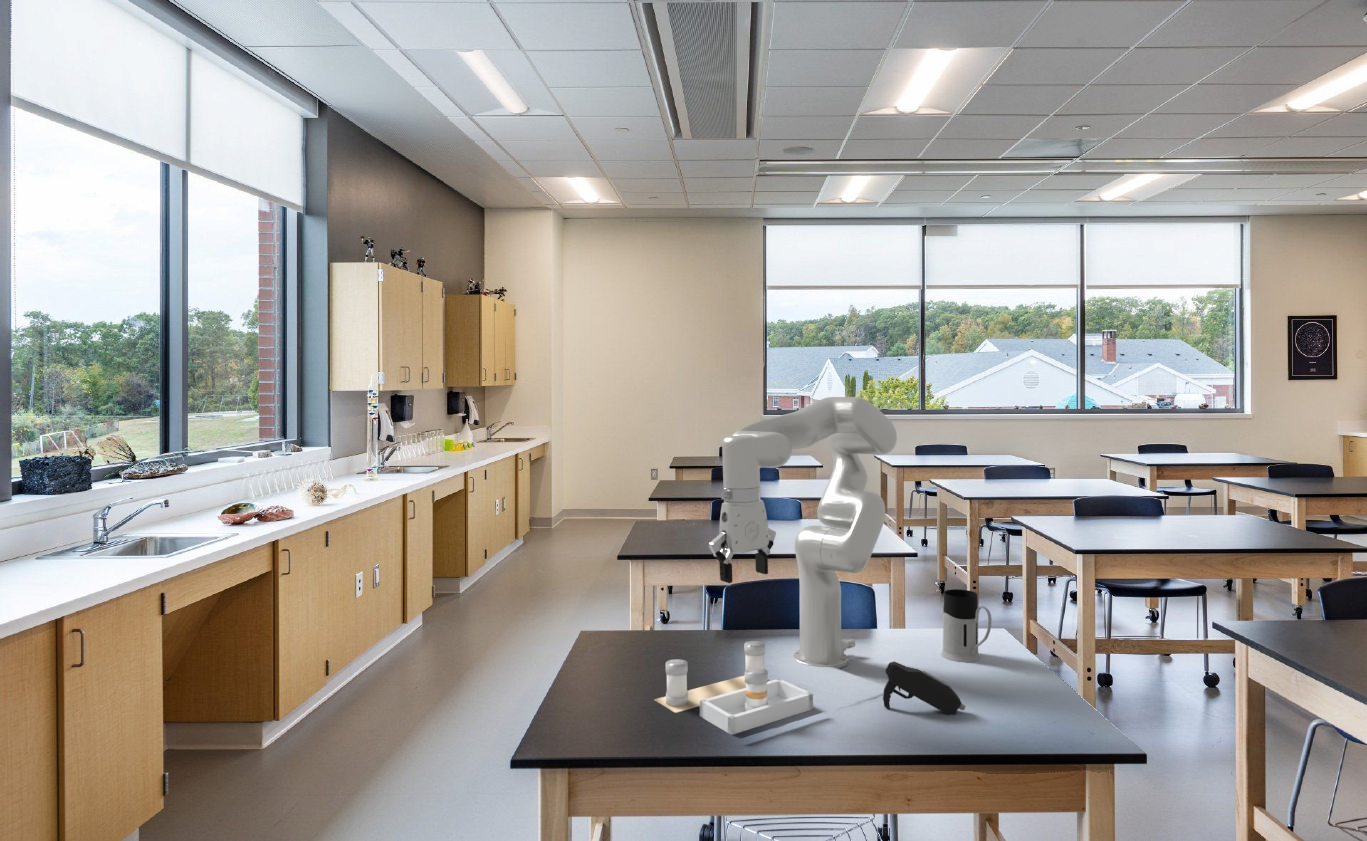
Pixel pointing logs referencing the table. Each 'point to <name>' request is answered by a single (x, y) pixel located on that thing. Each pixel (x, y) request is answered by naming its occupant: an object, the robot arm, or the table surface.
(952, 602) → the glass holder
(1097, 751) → the table surface
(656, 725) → the table surface
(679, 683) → the fuse
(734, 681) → the board
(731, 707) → the tray
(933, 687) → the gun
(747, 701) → the marked fuse
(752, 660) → the cylinder
